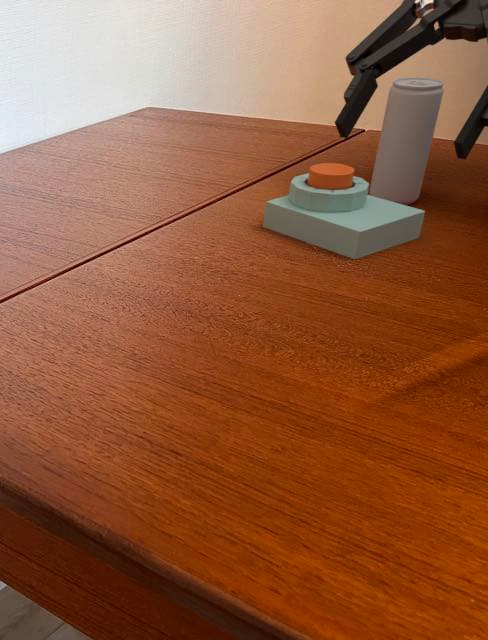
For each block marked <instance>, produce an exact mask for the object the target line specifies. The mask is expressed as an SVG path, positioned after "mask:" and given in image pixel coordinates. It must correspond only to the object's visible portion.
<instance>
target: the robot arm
mask: <svg viewBox="0 0 488 640" xmlns="http://www.w3.org/2000/svg"><path fill="white" fill-rule="evenodd" d="M430 10H431V11H430ZM426 12H428V13H426ZM418 19H419V22H418V23H416V22H417V20H418ZM415 23H416V24H415ZM414 24H415V25H414ZM436 24H437V27H438V28H436V27H435V25H436ZM444 39H445V40H446V41H447V40H448V41H458V40H464V41H467V42H471V43H478V42H479V41H481V40H483V39H486V43H487V44H488V0H402V2H401V4H400V5H399V6H398V7H397V8H396V9H395V10H394V11H393V12H392V13H391V14H389V15H388V16H387V17H386V18H385V19H384V20H383V21H382V22H381V23H380V24H379V25H378V26H376V28H375V29H373V30H372V31H371V32H370V33H369V34H368V35H367V36H366V37H365V38H364V39H363V40H361V42H359V43H358V44H357V45H356V46H355V47H354V48H352V50H351V51H350V52H349V53H348V54H346V56H345V58H344V59H345V62H346V65H347V68H348V71H349V73H350V75H351V76H353V77H352V79H351V81H350V82H349V84H348V86H347V87H346V89H345V91H344V92H343V99H344V102H345V103H344V105H343V107H342V109H341V111H340V113H338V115H337V117H336V119H335V121H334V125H335V127H336V130H337V132H338V135H339V136H340V138H343V139H348V138H349V136H350V134H351V133H352V131H353V129H354V128H355V127H356V125H357V122H358V121H359V119H360V117H361V116H362V114H363V113H364V111H365V109H366V107H367V106H368V104H369V103H370V101H371V99H372V97H373V95H374V94H375V92H376V90H377V89H378V87H379V84H378V82H377V79H379V78H380V77H381V76H383V75H385V74H386V73H388V72H389V71H391V70H392V69H394V68H395V67H398V66H399V65H400V64H401V63H403V62H404V61H407V60H408V59H409V58H410V57H412V56H414V55H416V54H417V53H418V52H420V51H422V50H423V49H425V48H426V47H427V46H435V45H436V44H438V43H440V42H441V41H443V40H444ZM473 107H474V108H473V109H472V111H471V112H470V114H469V116H468V118H467V119H466V121H465V123H464V124H463V126H462V128H461V129H460V131H459V132H458V134H457V136H456V138H455V139H454V141H453V146H454V149H455V153H456V156H457V157H456V158H457V159H461V160H466V159H467V158H468V156H469V154H470V152H471V151H472V150H473V148H474V146H475V144H476V143H477V141H478V140H479V137H480V136H481V134H482V133H483V131H484V129H485V127H487V128H488V84H487V85H486V87H485V89H484V90H483V92H482V94H481V96H479V99H478V100H477V102H476V104H475V106H473Z"/></svg>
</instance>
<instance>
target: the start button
mask: <svg viewBox="0 0 488 640" xmlns="http://www.w3.org/2000/svg"><path fill="white" fill-rule="evenodd" d="M308 173H309V176H308V183H307V186H310V187H313V188H316V189H324V190H346V189H349V188H351V187H352V182H353V176H355V167H352V166H350V165H348V164H343V163H334V162H323V163H316V164H313V165H311V166H310V167H309V171H308Z"/></svg>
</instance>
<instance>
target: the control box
mask: <svg viewBox="0 0 488 640" xmlns="http://www.w3.org/2000/svg"><path fill="white" fill-rule="evenodd" d="M308 176H309V172H307V173H304V174H300V175H297V176H294V177H293V178H292V179H291V181H290V184H289V189H288V190H289V192H288V194H287V195H284V196H281V197H277V198H274V199H270V200H267V201H265V208H264V215H263V224H262V227H263V228H265V229H268V230H270V231H274V232H276V233H279V234H282V235H285V236H288V237H291V238H293V239H296V240H298V241H301V242H304V243H307V244H311V245H313V246H316V247H319V248H321V249H324V250H327V251H330V252H332V253H335V254H339V255H342V256H344V257H347V258H350V259H353V260H357V259H360V258H363V257H366V256H369V255H372V254H375V253H378V252H382V251H384V250H386V249H390V248H393V247H396V246H399V245H402V244H405V243H408V242H410V241H414V240H417V239H419V238H420V235H421V231H422V227H423V224H424V223H423V222H424V218H425V214H426V211H425V210H423V209H420V208H416V207H413V206H408V205H402V204H399V203H395V202H392V201H388V200H384V199H381V198H377V197H374V196H370V194H369V190H370V183H369V182H368V181H366V180H365V179H364V178H363V177H359V176H355V175H354V176H353V182H352V187H351V188H349V189H346V190H324V189H316V188H313V187H310V186H307V183H308Z"/></svg>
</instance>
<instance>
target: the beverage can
mask: <svg viewBox="0 0 488 640" xmlns="http://www.w3.org/2000/svg"><path fill="white" fill-rule="evenodd" d="M444 84H445V82H444V81H443V80H441V79H437V78H432V77H419V76H417V77H414V76H412V77H411V76H410V77H401V78H400V77H399V78H396V79H393V80H392V85H391V86H390V88H389V91H388V96H387V100H386V106H385V109H384V116H383V121H382V125H381V130H380V135H379V141H378V146H377V151H376V155H375V156H376V157H375V161H374V165H373V170H372V171H373V172H372V177H371V182H370V185H369V191H368V194H369V195H370V196H374V197H377V198H381V199H384V200H388V201H392V202H395V203H399V204H402V205H406V206H408V205H411V204H413V203H415V202H417V201H418V199H419V197H420V194H421V191H422V190H421V189H422V185H423V181H424V178H425V173H426V169H427V164H428V160H429V156H430V151H431V147H432V143H433V140H434V139H433V138H434V134H435V128H436V125H437V121H438V118H439V113H440V108H441V105H442V104H441V103H442V99H443V96H444V91H445V90H444V88H443V87H444Z"/></svg>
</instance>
